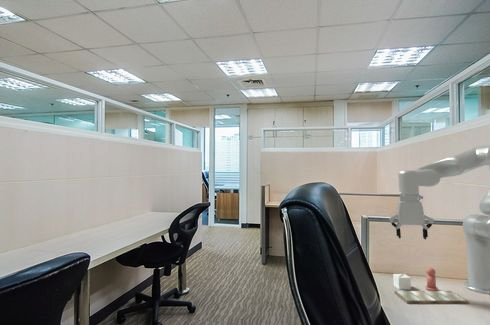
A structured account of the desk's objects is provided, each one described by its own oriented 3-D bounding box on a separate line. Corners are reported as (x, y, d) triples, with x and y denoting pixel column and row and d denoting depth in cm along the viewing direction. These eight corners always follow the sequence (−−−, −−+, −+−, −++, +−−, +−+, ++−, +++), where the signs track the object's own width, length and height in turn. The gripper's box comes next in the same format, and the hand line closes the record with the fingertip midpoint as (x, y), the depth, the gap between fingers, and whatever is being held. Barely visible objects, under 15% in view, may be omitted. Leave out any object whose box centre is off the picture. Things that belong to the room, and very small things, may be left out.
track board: (451, 293, 122) (450, 290, 122) (468, 303, 112) (468, 300, 112) (394, 293, 122) (394, 290, 122) (407, 303, 112) (407, 300, 112)
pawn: (433, 287, 128) (432, 266, 128) (440, 291, 124) (439, 269, 124) (423, 287, 128) (422, 266, 129) (429, 291, 124) (428, 269, 124)
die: (404, 285, 132) (404, 273, 132) (410, 289, 127) (410, 277, 127) (393, 285, 132) (393, 273, 132) (399, 289, 127) (398, 277, 127)
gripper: (430, 197, 129) (433, 237, 128) (386, 198, 135) (389, 235, 134) (434, 199, 122) (437, 241, 121) (388, 199, 128) (390, 239, 127)
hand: (412, 238), depth 127 cm, fingers open, 9 cm apart
